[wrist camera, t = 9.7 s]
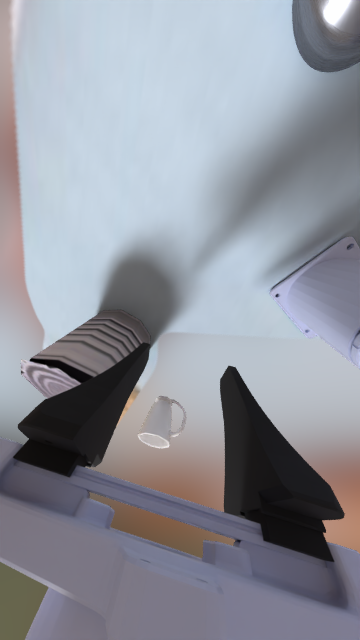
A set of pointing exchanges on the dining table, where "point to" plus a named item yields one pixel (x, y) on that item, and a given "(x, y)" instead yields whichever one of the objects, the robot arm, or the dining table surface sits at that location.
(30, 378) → the can
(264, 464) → the robot arm
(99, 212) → the dining table surface
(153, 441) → the cup
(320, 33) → the ratchet
